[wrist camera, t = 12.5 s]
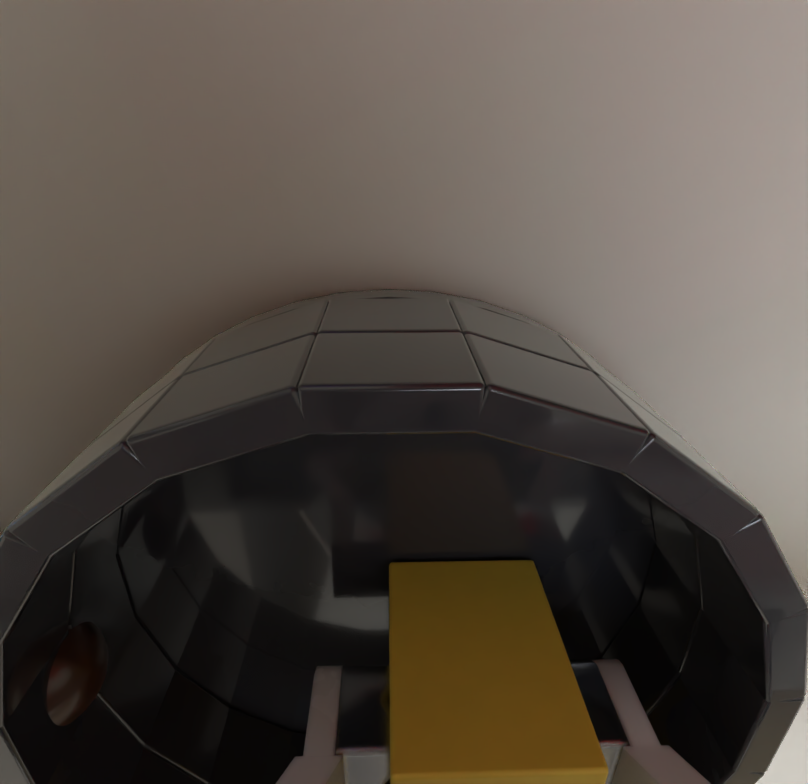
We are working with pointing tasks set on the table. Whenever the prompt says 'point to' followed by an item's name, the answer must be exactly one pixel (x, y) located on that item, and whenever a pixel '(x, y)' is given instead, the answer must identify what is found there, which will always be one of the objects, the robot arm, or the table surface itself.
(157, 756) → the pan
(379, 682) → the robot arm
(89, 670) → the pan handle
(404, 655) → the yellow block
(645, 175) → the table surface
